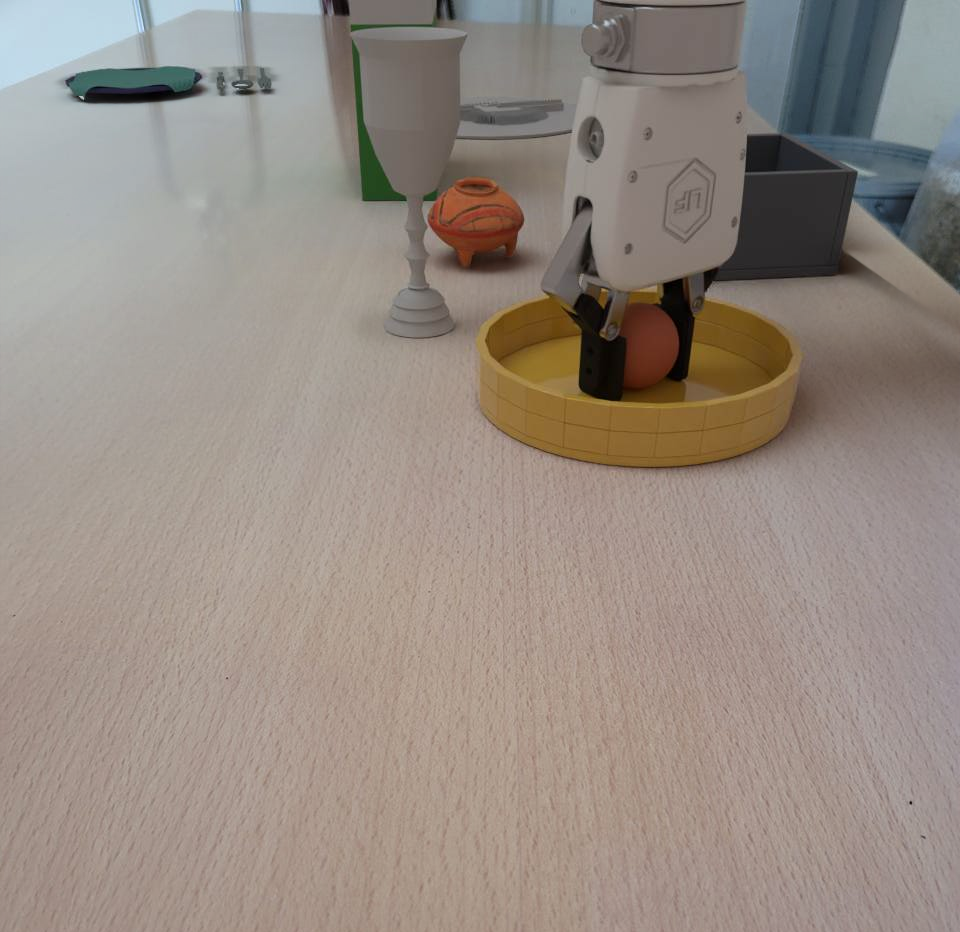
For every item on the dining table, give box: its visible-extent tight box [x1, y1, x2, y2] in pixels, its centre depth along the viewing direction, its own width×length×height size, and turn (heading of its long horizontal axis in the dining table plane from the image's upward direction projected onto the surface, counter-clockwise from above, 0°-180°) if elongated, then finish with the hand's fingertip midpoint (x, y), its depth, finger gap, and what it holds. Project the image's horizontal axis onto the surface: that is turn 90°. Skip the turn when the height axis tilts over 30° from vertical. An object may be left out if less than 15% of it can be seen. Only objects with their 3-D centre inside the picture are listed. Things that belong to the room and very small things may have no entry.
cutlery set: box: [64, 65, 273, 98], centre depth 151 cm, size 20×30×2 cm, turn 102°
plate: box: [456, 96, 577, 140], centre depth 134 cm, size 28×28×1 cm
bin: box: [713, 132, 859, 282], centre depth 83 cm, size 15×15×8 cm
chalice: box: [349, 27, 469, 339], centre depth 66 cm, size 7×7×18 cm
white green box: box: [348, 0, 439, 201], centre depth 99 cm, size 18×7×24 cm, turn 1°
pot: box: [427, 176, 525, 268], centre depth 83 cm, size 8×8×7 cm
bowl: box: [474, 288, 804, 468], centre depth 61 cm, size 19×19×4 cm
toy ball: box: [618, 302, 679, 389], centre depth 60 cm, size 5×5×5 cm
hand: (633, 381), depth 61 cm, fingers closed on toy ball, 4 cm apart
